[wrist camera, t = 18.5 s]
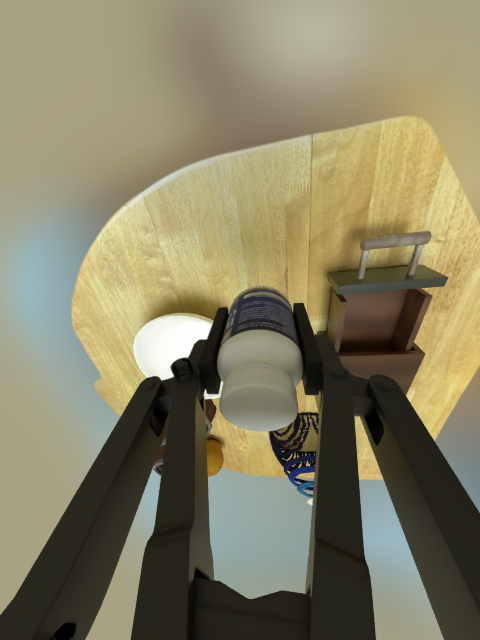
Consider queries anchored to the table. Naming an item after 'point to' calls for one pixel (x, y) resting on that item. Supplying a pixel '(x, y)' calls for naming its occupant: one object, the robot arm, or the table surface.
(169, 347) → the bowl
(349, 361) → the cabinet
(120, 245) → the table surface
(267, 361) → the pill bottle
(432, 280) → the drawer
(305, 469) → the blue openwork dome
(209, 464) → the apple
